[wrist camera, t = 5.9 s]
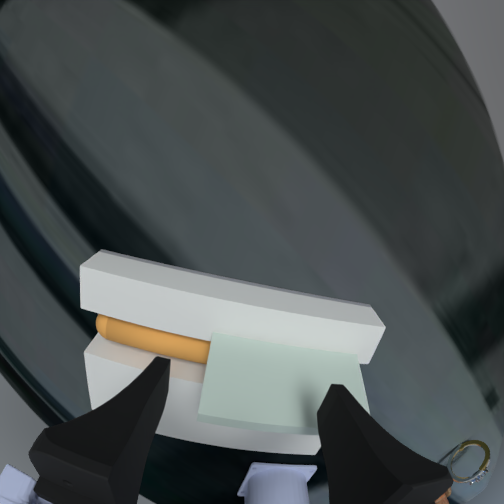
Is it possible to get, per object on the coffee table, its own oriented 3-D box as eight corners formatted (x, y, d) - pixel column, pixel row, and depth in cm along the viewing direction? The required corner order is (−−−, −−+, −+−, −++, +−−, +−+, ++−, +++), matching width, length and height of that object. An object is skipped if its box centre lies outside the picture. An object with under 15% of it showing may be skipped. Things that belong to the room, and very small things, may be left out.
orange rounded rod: (255, 339, 21) (250, 339, 24) (95, 302, 21) (105, 306, 23) (248, 373, 21) (244, 370, 23) (88, 334, 20) (99, 336, 22)
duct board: (310, 428, 27) (315, 454, 24) (105, 390, 26) (93, 414, 23) (369, 304, 23) (385, 327, 20) (101, 249, 21) (80, 265, 18)
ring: (477, 428, 30) (499, 463, 23) (477, 436, 31) (498, 470, 24) (439, 453, 32) (458, 491, 24) (441, 460, 32) (458, 496, 25)
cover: (364, 435, 15) (372, 428, 15) (196, 421, 15) (197, 413, 14) (350, 362, 20) (356, 354, 20) (210, 341, 20) (212, 332, 19)
